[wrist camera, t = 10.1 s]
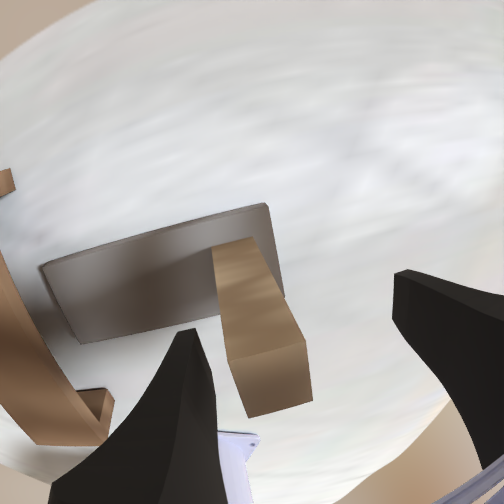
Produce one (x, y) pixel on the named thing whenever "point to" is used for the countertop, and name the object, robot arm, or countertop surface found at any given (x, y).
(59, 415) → the brown wooden bridge
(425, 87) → the countertop surface
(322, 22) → the countertop surface
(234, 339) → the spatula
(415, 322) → the robot arm
